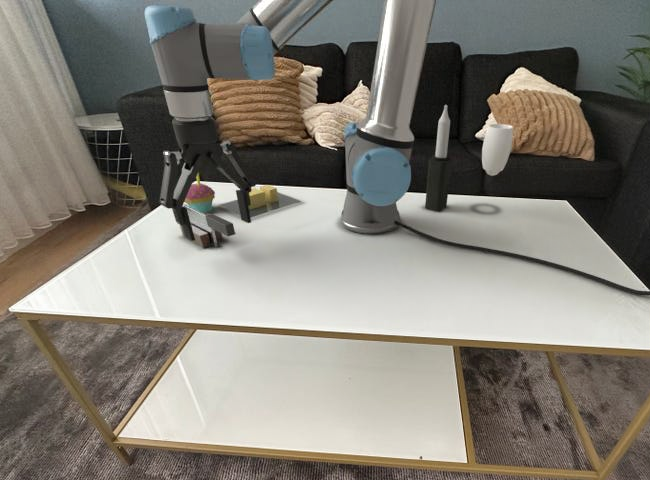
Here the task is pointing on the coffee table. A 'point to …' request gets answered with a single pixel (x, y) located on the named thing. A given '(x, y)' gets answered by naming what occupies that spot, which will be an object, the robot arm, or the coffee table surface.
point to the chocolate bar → (202, 237)
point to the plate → (281, 202)
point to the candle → (439, 168)
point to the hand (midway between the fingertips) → (219, 229)
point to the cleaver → (210, 224)
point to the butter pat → (270, 193)
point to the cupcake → (200, 197)
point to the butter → (257, 198)
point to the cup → (496, 147)
